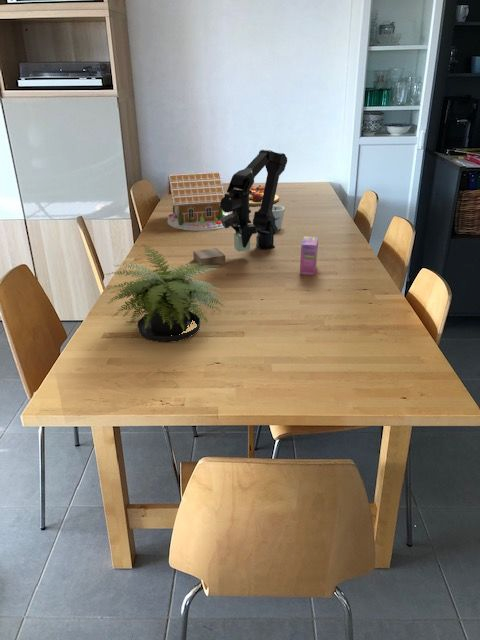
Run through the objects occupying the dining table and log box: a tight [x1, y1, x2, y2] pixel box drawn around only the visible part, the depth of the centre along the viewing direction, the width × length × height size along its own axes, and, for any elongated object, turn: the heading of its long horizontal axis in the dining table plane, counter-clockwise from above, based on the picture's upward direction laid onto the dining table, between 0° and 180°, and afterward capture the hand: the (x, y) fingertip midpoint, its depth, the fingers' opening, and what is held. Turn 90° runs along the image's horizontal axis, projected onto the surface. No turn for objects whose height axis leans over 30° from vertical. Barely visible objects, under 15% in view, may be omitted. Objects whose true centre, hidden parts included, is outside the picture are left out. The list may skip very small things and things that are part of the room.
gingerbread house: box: [166, 171, 231, 232], centre depth 258 cm, size 35×35×24 cm
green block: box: [233, 232, 251, 253], centre depth 210 cm, size 5×5×6 cm
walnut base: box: [192, 247, 226, 268], centre depth 208 cm, size 10×10×4 cm
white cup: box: [272, 204, 286, 231], centre depth 249 cm, size 10×15×10 cm
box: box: [299, 235, 319, 276], centre depth 197 cm, size 10×6×12 cm, turn 168°
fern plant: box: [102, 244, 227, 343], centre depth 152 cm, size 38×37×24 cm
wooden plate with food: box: [234, 184, 280, 207], centre depth 300 cm, size 32×32×8 cm
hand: (242, 245), depth 210 cm, fingers closed on green block, 5 cm apart
